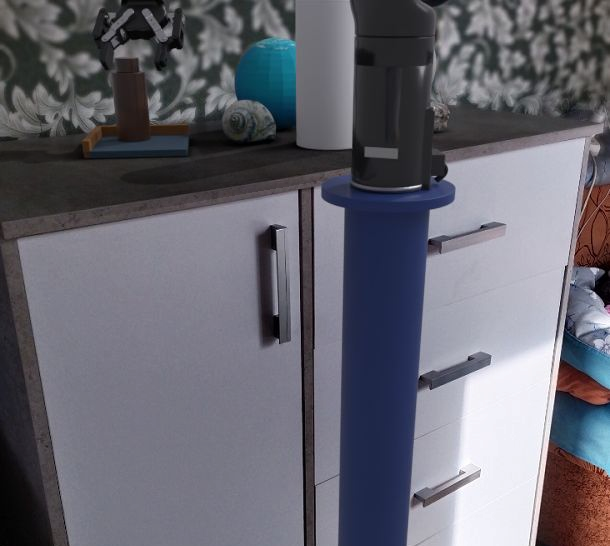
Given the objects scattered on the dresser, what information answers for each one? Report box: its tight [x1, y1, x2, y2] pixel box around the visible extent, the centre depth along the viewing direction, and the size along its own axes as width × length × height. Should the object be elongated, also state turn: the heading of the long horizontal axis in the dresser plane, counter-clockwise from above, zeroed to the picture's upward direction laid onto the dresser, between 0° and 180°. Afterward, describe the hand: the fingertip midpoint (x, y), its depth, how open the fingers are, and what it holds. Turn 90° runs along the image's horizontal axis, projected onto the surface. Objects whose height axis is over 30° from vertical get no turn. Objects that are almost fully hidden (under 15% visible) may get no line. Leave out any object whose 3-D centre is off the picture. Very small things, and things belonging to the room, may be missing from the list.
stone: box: [431, 101, 451, 133], centre depth 133 cm, size 13×6×10 cm
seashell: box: [221, 100, 277, 145], centre depth 123 cm, size 6×8×12 cm
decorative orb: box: [233, 37, 296, 130], centre depth 134 cm, size 15×15×15 cm
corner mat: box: [81, 123, 190, 159], centre depth 119 cm, size 15×15×2 cm
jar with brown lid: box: [110, 56, 151, 142], centre depth 119 cm, size 5×5×12 cm
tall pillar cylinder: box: [294, 0, 356, 151], centre depth 117 cm, size 11×11×25 cm
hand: (131, 67), depth 119 cm, fingers open, 8 cm apart
